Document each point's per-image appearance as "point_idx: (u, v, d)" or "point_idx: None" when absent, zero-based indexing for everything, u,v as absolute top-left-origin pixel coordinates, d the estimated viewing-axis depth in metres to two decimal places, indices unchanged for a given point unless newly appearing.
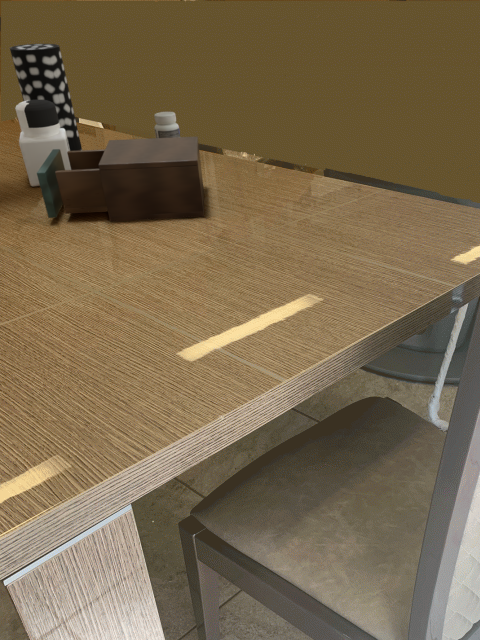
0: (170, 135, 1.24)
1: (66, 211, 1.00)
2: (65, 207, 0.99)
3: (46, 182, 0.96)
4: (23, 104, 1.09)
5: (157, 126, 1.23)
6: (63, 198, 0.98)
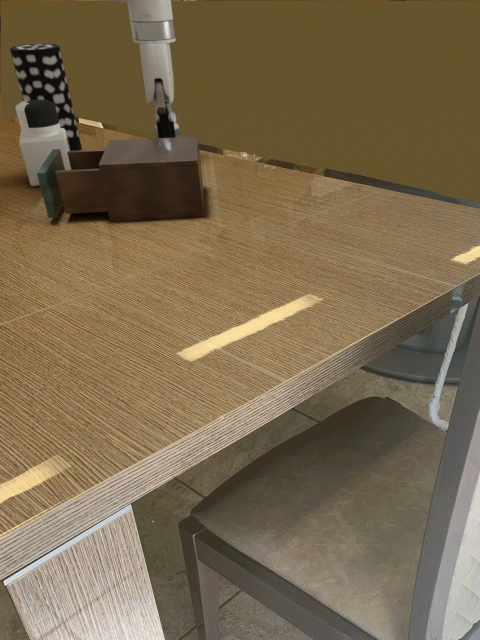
0: None
1: (66, 211, 1.00)
2: (65, 207, 0.99)
3: (46, 182, 0.96)
4: (23, 104, 1.09)
5: None
6: (63, 198, 0.98)
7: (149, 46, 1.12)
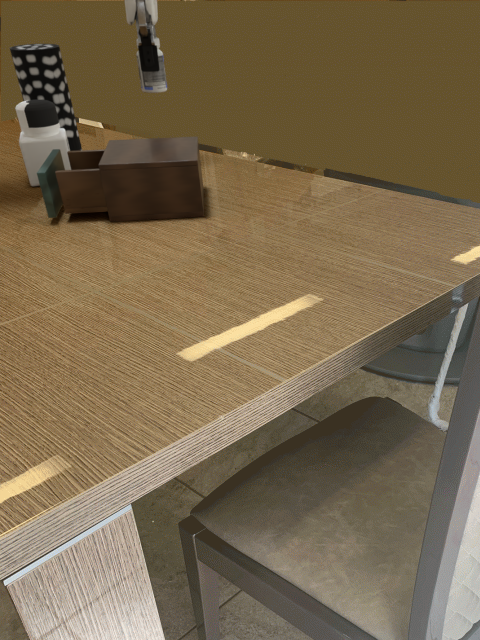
0: None
1: (66, 211, 1.00)
2: (65, 207, 0.99)
3: (46, 182, 0.96)
4: (23, 104, 1.09)
5: None
6: (63, 198, 0.98)
7: None
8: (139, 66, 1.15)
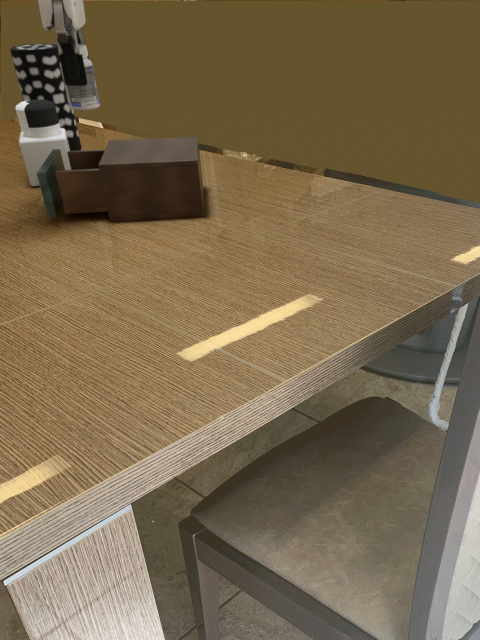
0: None
1: (66, 211, 1.00)
2: (65, 207, 0.99)
3: (46, 182, 0.96)
4: (23, 104, 1.09)
5: None
6: (63, 198, 0.98)
7: None
8: None
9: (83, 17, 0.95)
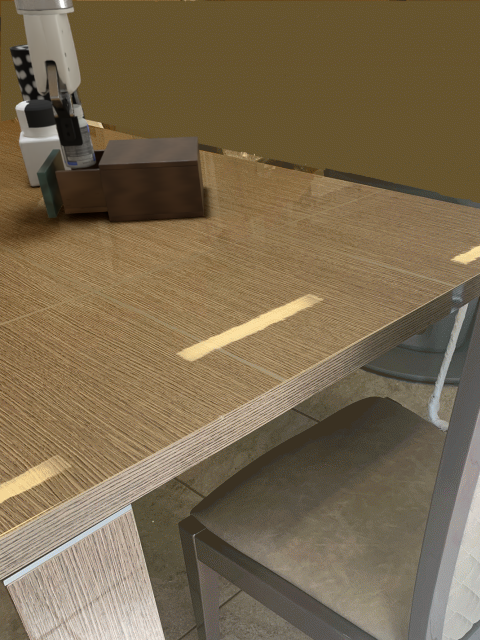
0: None
1: (66, 211, 1.00)
2: (65, 207, 0.99)
3: (46, 182, 0.96)
4: (23, 104, 1.09)
5: None
6: (63, 198, 0.98)
7: (35, 18, 0.86)
8: None
9: (78, 78, 0.96)
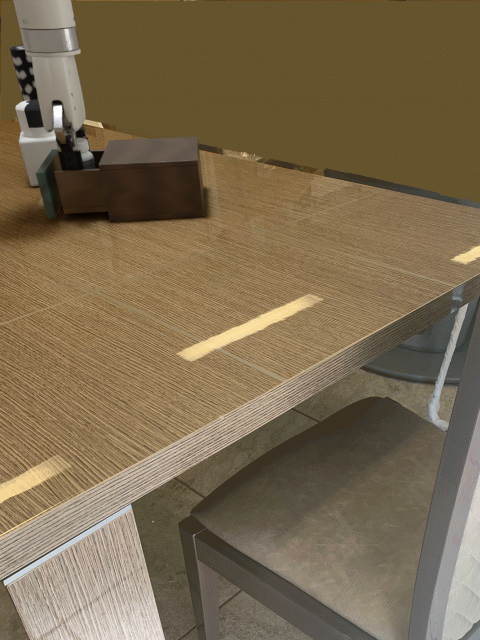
0: None
1: (65, 211, 1.00)
2: (64, 207, 0.99)
3: (45, 182, 0.96)
4: (23, 104, 1.09)
5: None
6: (62, 198, 0.98)
7: (43, 60, 0.89)
8: None
9: (83, 115, 0.99)
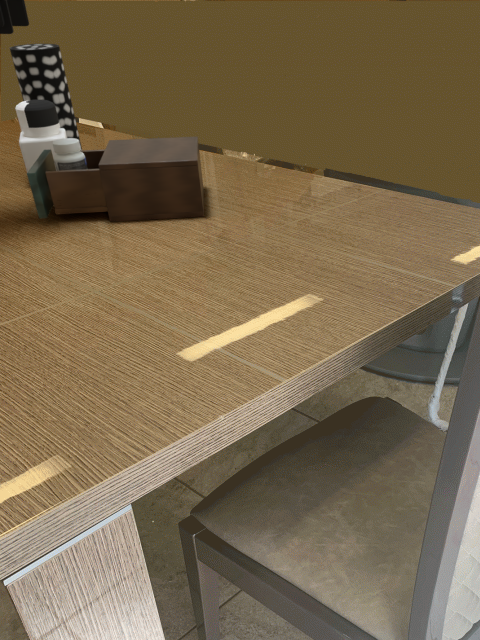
0: (73, 167, 1.00)
1: (57, 212, 1.00)
2: (56, 208, 0.99)
3: (36, 182, 0.96)
4: (23, 104, 1.09)
5: (56, 156, 0.99)
6: (54, 198, 0.98)
7: None
8: None
9: None
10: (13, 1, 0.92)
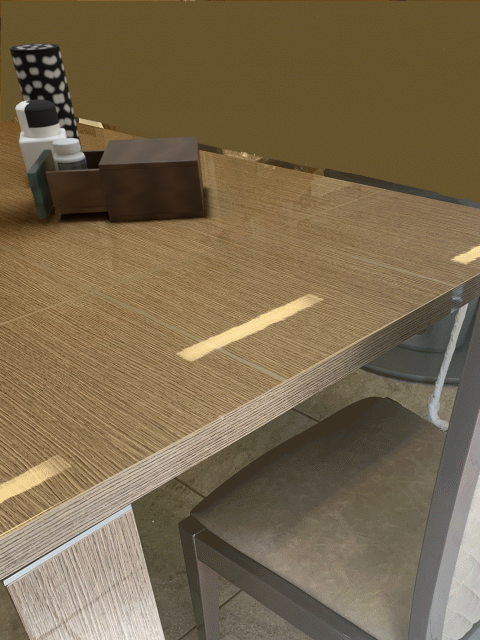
0: (73, 167, 1.00)
1: (57, 212, 1.00)
2: (56, 208, 0.99)
3: (36, 182, 0.96)
4: (23, 104, 1.09)
5: (56, 156, 0.99)
6: (54, 198, 0.98)
7: None
8: None
9: None
10: None
